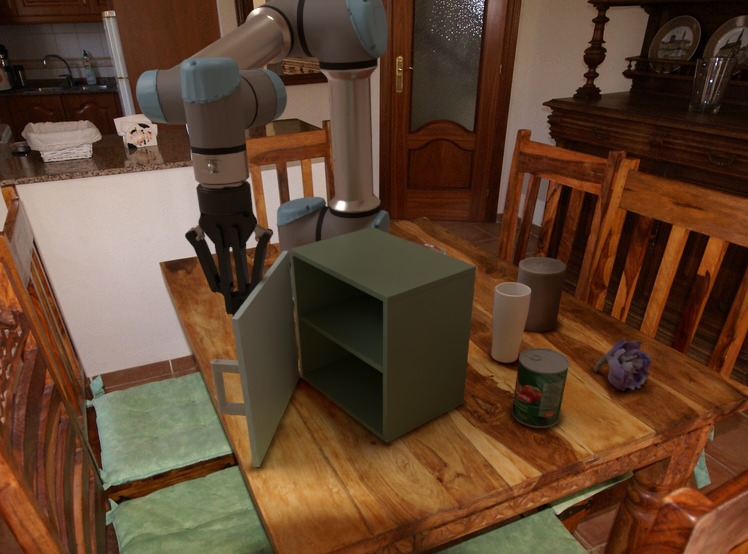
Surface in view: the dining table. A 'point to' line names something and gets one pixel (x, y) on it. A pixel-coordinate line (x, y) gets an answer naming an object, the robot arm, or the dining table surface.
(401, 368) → the cupboard
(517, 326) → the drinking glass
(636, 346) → the flower
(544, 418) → the canned tomato
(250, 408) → the door
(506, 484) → the dining table surface
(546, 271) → the pillar candle
